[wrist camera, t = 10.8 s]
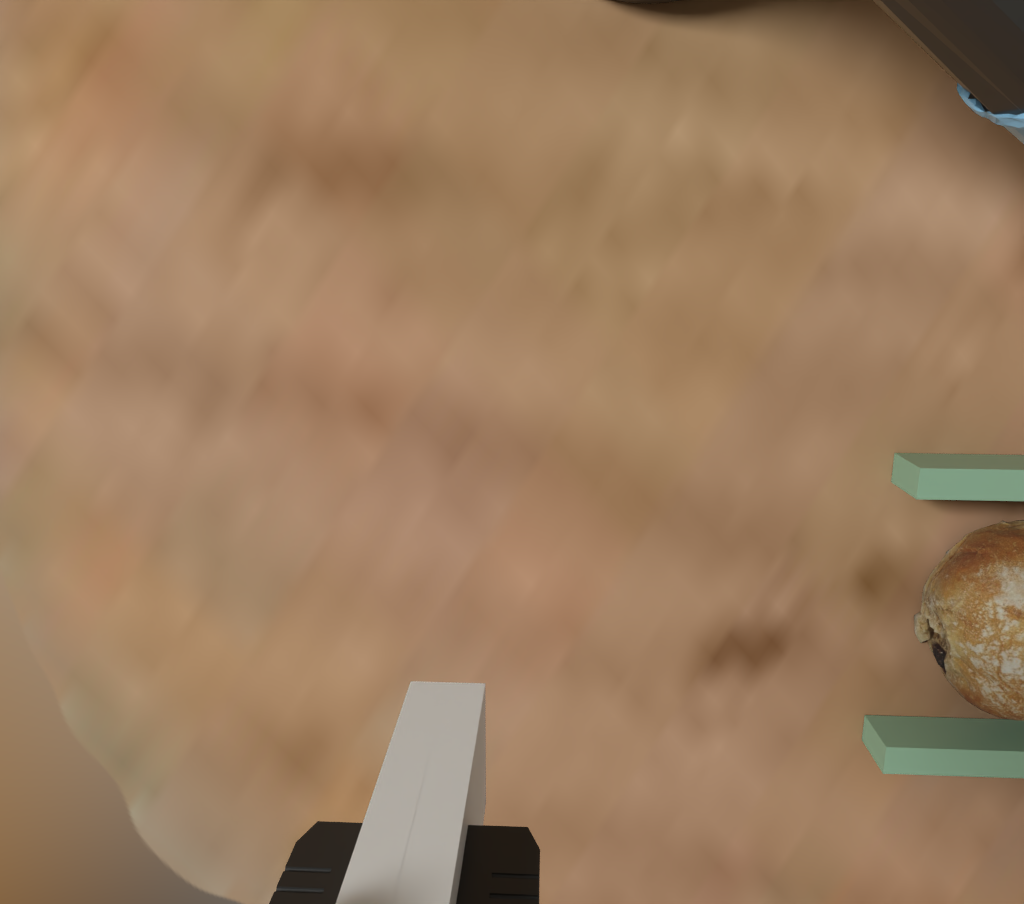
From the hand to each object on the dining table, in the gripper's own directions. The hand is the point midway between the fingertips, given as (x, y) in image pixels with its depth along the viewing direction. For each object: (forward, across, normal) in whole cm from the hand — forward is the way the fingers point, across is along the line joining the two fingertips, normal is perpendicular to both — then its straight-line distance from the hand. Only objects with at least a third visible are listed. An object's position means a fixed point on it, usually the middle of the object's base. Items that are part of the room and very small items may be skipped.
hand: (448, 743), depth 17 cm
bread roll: (+27, +26, -8) cm, 38 cm away
